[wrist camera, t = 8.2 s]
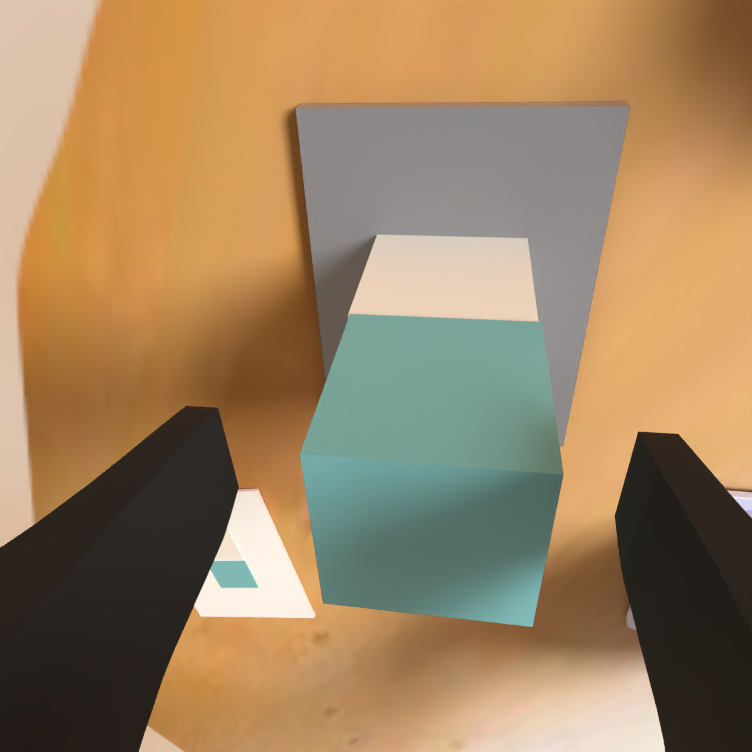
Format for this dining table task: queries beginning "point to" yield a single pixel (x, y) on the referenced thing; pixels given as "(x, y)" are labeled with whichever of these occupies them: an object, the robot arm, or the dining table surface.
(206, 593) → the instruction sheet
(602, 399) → the dining table surface
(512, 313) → the cream brick
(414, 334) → the teal brick
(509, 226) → the plate
